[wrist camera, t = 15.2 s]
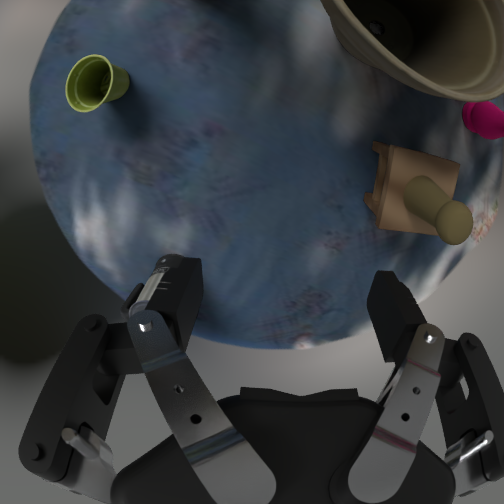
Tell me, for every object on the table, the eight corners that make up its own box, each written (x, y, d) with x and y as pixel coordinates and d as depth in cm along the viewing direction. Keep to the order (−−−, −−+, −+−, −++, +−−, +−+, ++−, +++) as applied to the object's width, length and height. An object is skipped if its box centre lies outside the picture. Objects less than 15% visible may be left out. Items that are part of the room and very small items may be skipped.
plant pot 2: (265, 34, 32) (259, -23, 13) (343, -48, 20) (379, -110, 2) (392, 126, 37) (472, 152, 18) (454, 40, 26) (534, 32, 7)
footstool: (370, 136, 39) (394, 146, 30) (428, 150, 38) (460, 164, 29) (359, 203, 45) (378, 228, 36) (416, 211, 44) (441, 236, 36)
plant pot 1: (110, 52, 33) (82, 47, 25) (148, 69, 35) (123, 65, 28) (87, 96, 37) (58, 100, 29) (122, 116, 39) (95, 121, 32)
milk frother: (177, 244, 52) (149, 292, 39) (228, 298, 57) (217, 353, 45) (135, 276, 57) (106, 323, 44) (183, 322, 63) (166, 371, 50)
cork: (427, 167, 31) (473, 194, 21) (442, 200, 33) (484, 234, 23) (396, 190, 33) (435, 224, 23) (413, 222, 35) (449, 262, 26)
